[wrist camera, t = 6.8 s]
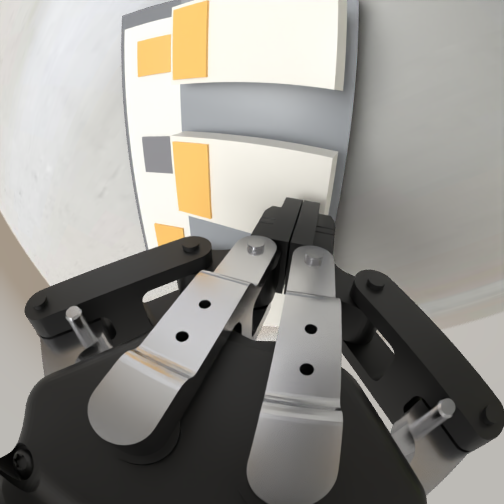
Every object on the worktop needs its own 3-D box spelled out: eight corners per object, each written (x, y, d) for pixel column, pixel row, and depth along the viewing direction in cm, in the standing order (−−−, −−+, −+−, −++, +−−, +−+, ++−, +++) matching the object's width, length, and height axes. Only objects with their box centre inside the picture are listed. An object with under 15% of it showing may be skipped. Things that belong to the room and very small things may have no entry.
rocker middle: (185, 130, 15) (168, 136, 14) (338, 151, 12) (332, 159, 11) (190, 203, 18) (175, 213, 17) (323, 239, 15) (316, 254, 14)
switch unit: (130, 17, 14) (100, 14, 11) (355, -2, 10) (358, -19, 8) (155, 262, 29) (138, 283, 26) (315, 298, 25) (309, 327, 22)
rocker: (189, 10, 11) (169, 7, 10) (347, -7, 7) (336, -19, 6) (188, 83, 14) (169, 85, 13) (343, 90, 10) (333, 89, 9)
